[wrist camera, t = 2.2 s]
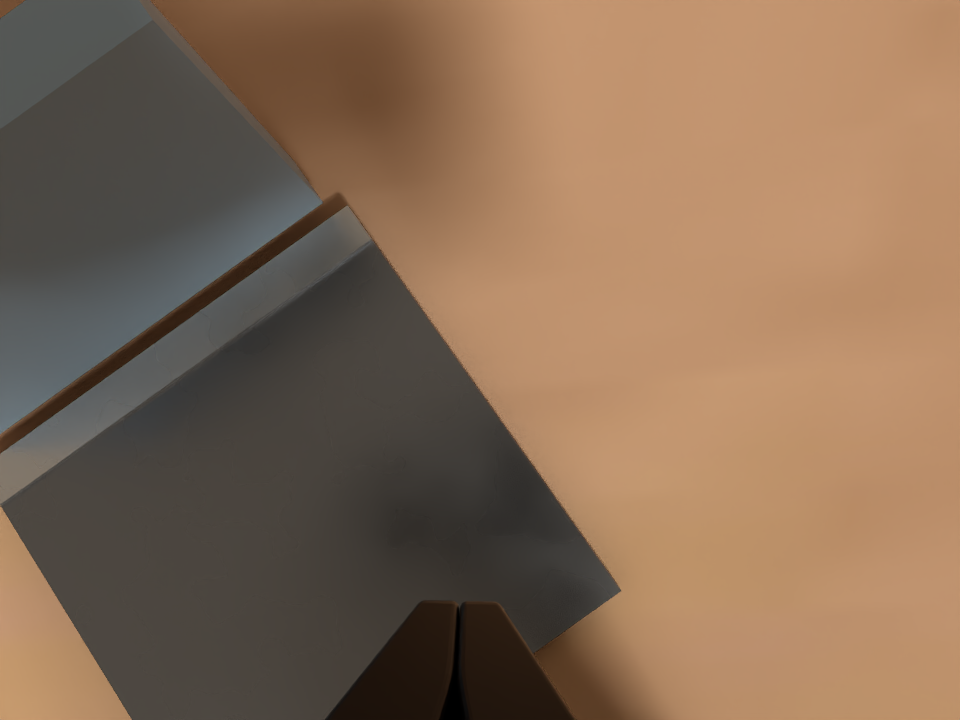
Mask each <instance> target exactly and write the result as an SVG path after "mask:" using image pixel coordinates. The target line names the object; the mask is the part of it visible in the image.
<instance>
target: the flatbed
mask: <svg viewBox="0 0 960 720" xmlns="http://www.w3.org/2000/svg"><path fill="white" fill-rule="evenodd" d="M0 507H2V509H3V510H4V512H5V513H6V515H7V517H8V518H9V520H10V522H11V523H12V525H13V527H14V528H15V530H16V531H17V533H18V535H19V536H20V538H21V540H22V541H23V543H24V544H25V546H26V548H27V549H28V551H29V553H30V554H31V556H32V557H33V559H34V561H35V562H36V564H37V566H38V567H39V569H40V570H41V572H42V574H43V575H44V577H45V579H46V580H47V582H48V584H49V585H50V587H51V588H52V590H53V592H54V593H55V595H56V597H57V598H58V600H59V601H60V603H61V605H62V606H63V608H64V610H65V611H66V613H67V614H68V616H69V618H70V619H71V621H72V623H73V624H74V626H75V628H76V629H77V631H78V632H79V634H80V636H81V637H82V639H83V641H84V642H85V644H86V645H87V647H88V649H89V650H90V652H91V654H92V655H93V657H94V658H95V660H96V662H97V663H98V665H99V667H100V668H101V670H102V672H103V673H104V675H105V676H106V678H107V680H108V681H109V683H110V685H111V686H112V688H113V689H114V691H115V693H116V694H117V696H118V698H119V699H120V701H121V702H122V704H123V706H124V707H125V709H126V711H127V712H128V714H129V716H130V717H131V719H132V720H325V718H326V717H327V716H328V715H329V713H330V712H331V711H332V710H333V709H334V707H335V706H336V705H337V704H338V702H339V701H340V700H341V699H342V697H343V696H344V695H345V694H346V692H347V691H348V690H349V689H350V687H351V686H352V685H353V684H354V682H355V681H356V680H357V679H358V677H359V676H360V675H361V674H362V673H363V671H364V670H365V669H366V668H367V666H368V665H369V664H370V663H371V661H372V660H373V659H374V658H375V656H376V655H377V654H378V653H379V651H380V650H381V649H382V648H383V646H384V645H385V644H386V643H387V641H388V640H389V639H390V638H391V636H392V635H393V634H394V633H395V632H396V630H397V629H398V628H399V627H400V625H401V624H402V623H403V622H404V620H405V619H406V618H407V617H408V615H409V614H410V613H411V612H412V610H413V609H414V608H415V607H416V605H417V604H418V603H419V602H421V601H423V600H451V601H455V602H457V603H458V605H459V613H460V606H461V604H462V603H463V602H464V601H494V602H497V603H499V604H500V605H501V606H502V608H503V609H504V611H505V612H506V614H507V615H508V617H509V618H510V620H511V621H512V623H513V624H514V626H515V627H516V629H517V630H518V632H519V633H520V635H521V636H522V638H523V639H524V641H525V642H526V644H527V645H528V647H529V648H530V650H531V651H532V653H535V652H536V651H537V650H539V649H540V648H542V647H543V646H544V645H546V644H547V643H549V642H550V641H551V640H553V639H554V638H556V637H557V636H558V635H560V634H561V633H563V632H564V631H565V630H567V629H568V628H570V627H571V626H572V625H574V624H575V623H577V622H578V621H579V620H581V619H582V618H584V617H585V616H586V615H588V614H589V613H591V612H592V611H594V610H595V609H596V608H598V607H599V606H601V605H602V604H603V603H605V602H606V601H608V600H609V599H610V598H612V597H613V596H615V595H616V594H617V593H619V592H620V591H621V589H620V588H619V586H618V585H617V583H616V582H615V580H614V579H613V578H612V576H611V575H610V573H609V572H608V570H607V569H606V568H605V566H604V565H603V563H602V562H601V561H600V559H599V558H598V556H597V555H596V554H595V552H594V551H593V549H592V548H591V547H590V545H589V544H588V542H587V541H586V539H585V538H584V537H583V535H582V534H581V532H580V531H579V530H578V528H577V527H576V525H575V524H574V523H573V521H572V520H571V518H570V517H569V516H568V514H567V513H566V511H565V510H564V508H563V507H562V506H561V504H560V503H559V501H558V500H557V499H556V497H555V496H554V494H553V493H552V492H551V490H550V489H549V487H548V486H547V485H546V483H545V482H544V480H543V479H542V478H541V476H540V475H539V473H538V472H537V470H536V469H535V468H534V466H533V465H532V463H531V462H530V461H529V459H528V458H527V456H526V455H525V454H524V452H523V451H522V449H521V448H520V447H519V445H518V444H517V442H516V441H515V439H514V438H513V437H512V435H511V434H510V432H509V431H508V430H507V428H506V427H505V425H504V424H503V423H502V421H501V420H500V418H499V417H498V416H497V414H496V413H495V411H494V410H493V408H492V407H491V406H490V404H489V403H488V401H487V400H486V399H485V397H484V396H483V394H482V393H481V392H480V390H479V389H478V387H477V386H476V385H475V383H474V382H473V380H472V379H471V377H470V376H469V375H468V373H467V372H466V370H465V369H464V368H463V366H462V365H461V363H460V362H459V361H458V359H457V358H456V356H455V355H454V354H453V352H452V351H451V349H450V348H449V346H448V345H447V344H446V342H445V341H444V339H443V338H442V337H441V335H440V334H439V332H438V331H437V330H436V328H435V327H434V325H433V324H432V323H431V321H430V320H429V318H428V317H427V315H426V314H425V313H424V311H423V310H422V308H421V307H420V306H419V304H418V303H417V301H416V300H415V299H414V297H413V296H412V294H411V293H410V292H409V290H408V289H407V287H406V286H405V284H404V283H403V282H402V280H401V279H400V277H399V276H398V275H397V273H396V272H395V270H394V269H393V268H392V266H391V265H390V263H389V262H388V261H387V259H386V258H385V256H384V255H383V253H382V252H381V251H380V249H379V248H378V246H377V245H376V244H375V242H374V241H373V239H372V238H371V237H370V235H369V234H368V232H367V231H366V230H365V228H364V227H363V225H362V224H361V222H360V221H359V220H358V218H357V217H356V215H355V214H354V213H353V211H352V210H351V209H350V208H349V207H348V205H347V206H346V207H344V208H343V209H341V210H340V211H339V212H337V213H336V214H334V215H333V216H332V217H330V218H329V219H327V220H326V221H325V222H323V223H322V224H320V225H319V226H318V227H316V228H315V229H313V230H312V231H311V232H309V233H308V234H307V235H305V236H304V237H302V238H301V239H300V240H298V241H297V242H295V243H294V244H293V245H291V246H290V247H288V248H287V249H286V250H284V251H283V252H281V253H280V254H279V255H277V256H276V257H274V258H273V259H272V260H270V261H269V262H267V263H266V264H265V265H263V266H262V267H260V268H259V269H258V270H256V271H255V272H253V273H252V274H251V275H249V276H248V277H246V278H245V279H244V280H242V281H241V282H239V283H238V284H237V285H235V286H234V287H232V288H231V289H230V290H228V291H227V292H225V293H224V294H223V295H221V296H220V297H219V298H217V299H216V300H214V301H213V302H212V303H210V304H209V305H207V306H206V307H205V308H203V309H202V310H200V311H199V312H198V313H196V314H195V315H193V316H192V317H191V318H189V319H188V320H186V321H185V322H184V323H182V324H181V325H179V326H178V327H177V328H175V329H174V330H172V331H171V332H170V333H168V334H167V335H165V336H164V337H163V338H161V339H160V340H158V341H157V342H156V343H154V344H153V345H151V346H150V347H149V348H147V349H146V350H144V351H143V352H142V353H140V354H139V355H137V356H136V357H135V358H133V359H132V360H131V361H129V362H128V363H126V364H125V365H124V366H122V367H121V368H119V369H118V370H117V371H115V372H114V373H112V374H111V375H110V376H108V377H107V378H105V379H104V380H103V381H101V382H100V383H98V384H97V385H96V386H94V387H93V388H91V389H90V390H89V391H87V392H86V393H84V394H83V395H82V396H80V397H79V398H77V399H76V400H75V401H73V402H72V403H70V404H69V405H68V406H66V407H65V408H63V409H62V410H61V411H59V412H58V413H56V414H55V415H54V416H52V417H51V418H50V419H48V420H47V421H45V422H44V423H43V424H41V425H40V426H38V427H37V428H36V429H34V430H33V431H31V432H30V433H29V434H27V435H26V436H24V437H23V438H22V439H20V440H19V441H17V442H16V443H15V444H13V445H12V446H10V447H9V448H8V449H6V450H5V451H3V452H2V453H1V454H0Z"/></svg>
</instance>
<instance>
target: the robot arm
mask: <svg viewBox="0 0 960 720" xmlns="http://www.w3.org/2000/svg"><path fill="white" fill-rule="evenodd" d="M325 720H577V719H576V718H575V716H574V715H573V713H572V712H571V710H570V709H569V707H568V706H567V704H566V703H565V701H564V700H563V698H562V697H561V695H560V694H559V692H558V691H557V689H556V688H555V686H554V685H553V683H552V682H551V680H550V679H549V677H548V676H547V674H546V673H545V671H544V670H543V668H542V667H541V665H540V664H539V662H538V660H537V659H536V657H535V656H534V654H533V653H532V651H531V650H530V648H529V647H528V645H527V644H526V642H525V641H524V639H523V638H522V636H521V635H520V633H519V632H518V630H517V629H516V627H515V626H514V624H513V623H512V621H511V620H510V618H509V617H508V615H507V614H506V612H505V611H504V609H503V608H502V606H501V605H500V604H499V603H497V602H494V601H464V602H463V603H462V604H461V606H460V613H459V605H458V603H457V602H455V601H451V600H423V601H421V602H419V603H418V604H417V605H416V607H415V608H414V609H413V610H412V612H411V613H410V614H409V615H408V617H407V618H406V619H405V620H404V622H403V623H402V624H401V625H400V627H399V628H398V629H397V630H396V632H395V633H394V634H393V635H392V636H391V638H390V639H389V640H388V641H387V643H386V644H385V645H384V646H383V648H382V649H381V650H380V651H379V653H378V654H377V655H376V656H375V658H374V659H373V660H372V661H371V663H370V664H369V665H368V666H367V668H366V669H365V670H364V671H363V673H362V674H361V675H360V676H359V677H358V679H357V680H356V681H355V682H354V684H353V685H352V686H351V687H350V689H349V690H348V691H347V692H346V694H345V695H344V696H343V697H342V699H341V700H340V701H339V702H338V704H337V705H336V706H335V707H334V709H333V710H332V711H331V712H330V713H329V715H328V716H327V717H326V718H325Z"/></svg>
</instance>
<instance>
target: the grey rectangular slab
mask: <svg viewBox="0 0 960 720" xmlns="http://www.w3.org/2000/svg"><path fill="white" fill-rule="evenodd" d="M322 203H323V202H322V200H321V199H320V197H319V196H318V195H317V193H316V192H315V190H314V189H313V187H312V186H311V185H310V183H309V182H308V180H307V179H306V177H305V176H304V175H303V173H302V172H301V170H300V169H299V168H298V166H297V165H296V163H295V162H294V161H293V159H292V158H291V157H290V156H289V155H288V154H287V153H286V152H285V151H284V149H283V148H282V147H281V146H280V145H279V144H278V143H277V142H276V140H275V139H274V138H273V137H272V136H271V135H270V134H269V133H268V132H267V130H266V129H265V128H264V127H263V126H262V125H261V124H260V123H259V122H258V120H257V119H256V118H255V117H254V116H253V115H252V114H251V113H250V111H249V110H248V109H247V108H246V107H245V106H244V105H243V104H242V103H241V101H240V100H239V99H238V98H237V97H236V96H235V95H234V94H233V93H232V91H231V90H230V89H229V88H228V87H227V86H226V85H225V84H224V82H223V81H222V80H221V79H220V78H219V77H218V76H217V75H216V74H215V72H214V71H213V70H212V69H211V68H210V67H209V66H208V65H207V64H206V62H205V61H204V60H203V59H202V58H201V57H200V56H199V55H198V53H197V52H196V51H195V50H194V49H193V48H192V47H191V46H190V45H189V43H188V42H187V41H186V40H185V39H184V38H183V37H182V36H181V35H180V33H179V32H178V31H177V30H176V29H175V28H174V27H173V26H172V24H171V23H170V22H169V21H168V20H167V19H166V18H165V17H164V16H163V14H162V13H161V12H160V11H159V10H158V9H157V8H156V7H155V6H154V4H153V3H152V2H151V1H150V0H25V1H24V2H23V3H21V4H20V5H18V6H17V7H16V8H14V9H13V10H11V11H10V12H9V13H7V14H6V15H4V16H3V17H2V18H0V434H1V433H2V432H4V431H5V430H6V429H8V428H9V427H11V426H12V425H13V424H15V423H16V422H18V421H19V420H20V419H22V418H23V417H25V416H26V415H27V414H29V413H30V412H32V411H33V410H34V409H36V408H37V407H39V406H40V405H41V404H43V403H44V402H46V401H47V400H48V399H50V398H51V397H53V396H54V395H55V394H57V393H58V392H60V391H61V390H62V389H64V388H65V387H67V386H68V385H69V384H71V383H72V382H73V381H75V380H76V379H78V378H79V377H80V376H82V375H83V374H85V373H86V372H87V371H89V370H90V369H92V368H93V367H94V366H96V365H97V364H99V363H100V362H101V361H103V360H104V359H106V358H107V357H108V356H110V355H111V354H113V353H114V352H115V351H117V350H118V349H120V348H121V347H122V346H124V345H125V344H127V343H128V342H129V341H131V340H132V339H134V338H135V337H136V336H138V335H139V334H141V333H142V332H143V331H145V330H146V329H148V328H149V327H150V326H152V325H153V324H154V323H156V322H157V321H159V320H160V319H161V318H163V317H164V316H166V315H167V314H168V313H170V312H171V311H173V310H174V309H175V308H177V307H178V306H180V305H181V304H182V303H184V302H185V301H187V300H188V299H189V298H191V297H192V296H194V295H195V294H196V293H198V292H199V291H201V290H202V289H203V288H205V287H206V286H208V285H209V284H210V283H212V282H213V281H215V280H216V279H217V278H219V277H220V276H222V275H223V274H224V273H226V272H227V271H229V270H230V269H231V268H233V267H234V266H235V265H237V264H238V263H240V262H241V261H242V260H244V259H245V258H247V257H248V256H249V255H251V254H252V253H254V252H255V251H256V250H258V249H259V248H261V247H262V246H263V245H265V244H266V243H268V242H269V241H270V240H272V239H273V238H275V237H276V236H277V235H279V234H280V233H282V232H283V231H284V230H286V229H287V228H289V227H290V226H291V225H293V224H294V223H296V222H297V221H298V220H300V219H301V218H303V217H304V216H305V215H307V214H308V213H310V212H311V211H312V210H314V209H315V208H316V207H318V206H319V205H321V204H322Z"/></svg>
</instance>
